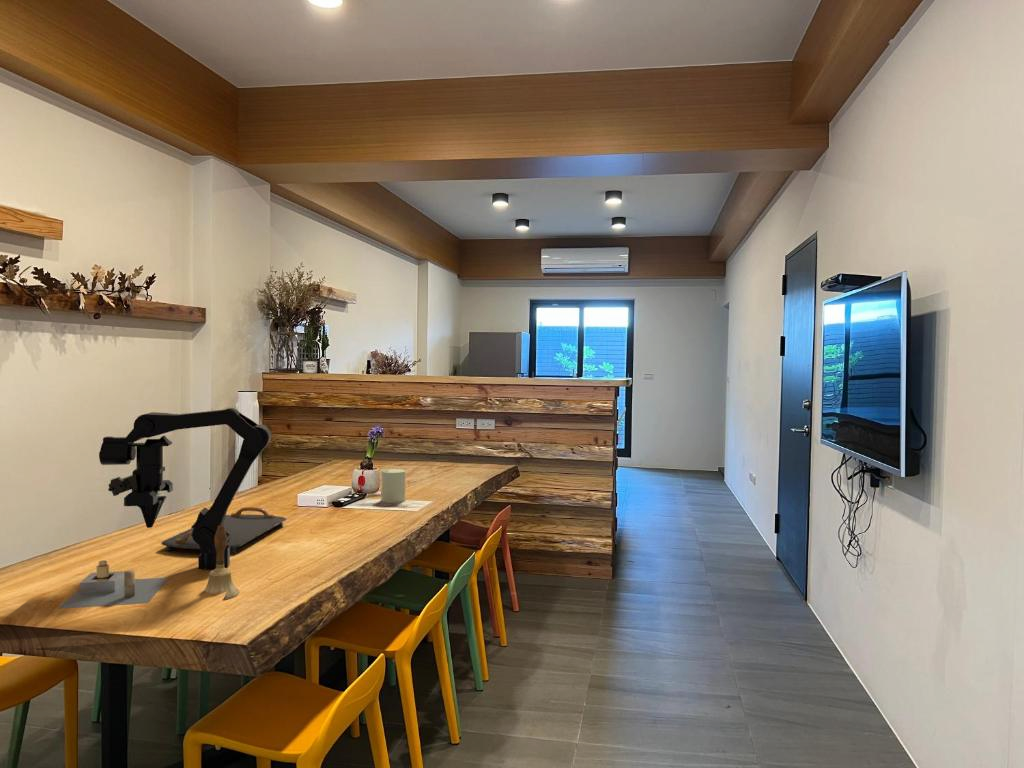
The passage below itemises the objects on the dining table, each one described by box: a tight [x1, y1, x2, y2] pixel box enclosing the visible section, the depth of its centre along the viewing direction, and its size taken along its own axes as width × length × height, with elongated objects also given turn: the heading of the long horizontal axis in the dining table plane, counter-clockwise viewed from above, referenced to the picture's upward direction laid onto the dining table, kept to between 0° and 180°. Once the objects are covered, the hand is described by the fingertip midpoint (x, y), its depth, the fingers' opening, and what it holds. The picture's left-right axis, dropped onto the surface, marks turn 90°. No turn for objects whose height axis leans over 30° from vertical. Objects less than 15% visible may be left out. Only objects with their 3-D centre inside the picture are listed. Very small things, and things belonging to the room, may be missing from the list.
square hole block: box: [78, 570, 126, 594], centre depth 151 cm, size 7×7×2 cm
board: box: [57, 576, 169, 610], centre depth 149 cm, size 17×17×2 cm
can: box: [380, 468, 407, 504], centre depth 256 cm, size 9×9×12 cm
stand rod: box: [124, 569, 136, 598], centre depth 146 cm, size 2×2×6 cm
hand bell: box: [204, 525, 240, 601], centre depth 152 cm, size 8×8×16 cm
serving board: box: [160, 506, 287, 555], centre depth 200 cm, size 39×23×6 cm, turn 176°
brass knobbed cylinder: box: [96, 560, 110, 580], centre depth 151 cm, size 2×2×6 cm
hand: (149, 527), depth 164 cm, fingers closed
